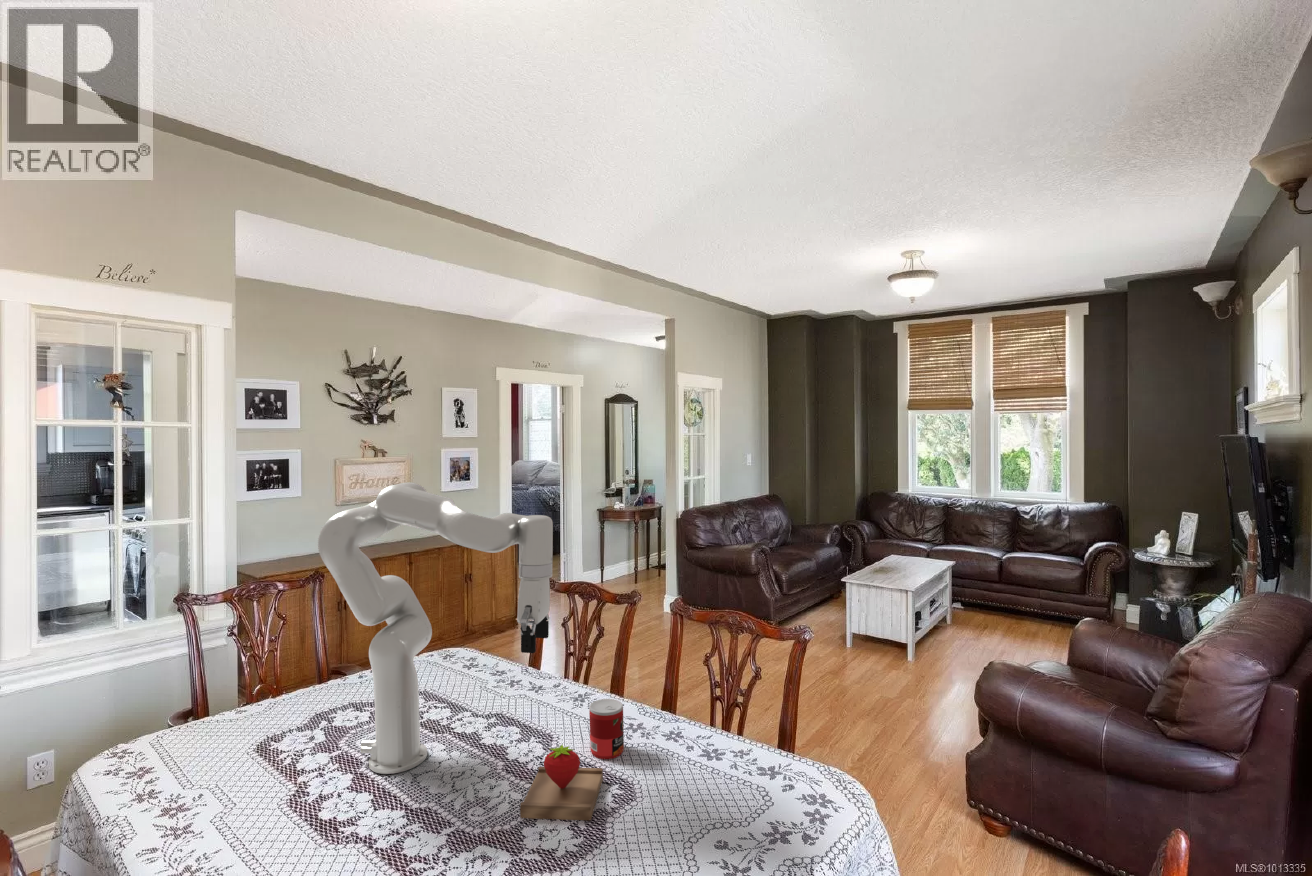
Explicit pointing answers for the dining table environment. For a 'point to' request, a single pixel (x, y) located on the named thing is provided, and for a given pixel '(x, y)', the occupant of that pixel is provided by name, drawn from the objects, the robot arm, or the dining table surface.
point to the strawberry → (562, 765)
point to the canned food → (606, 728)
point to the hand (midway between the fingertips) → (535, 644)
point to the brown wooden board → (563, 796)
